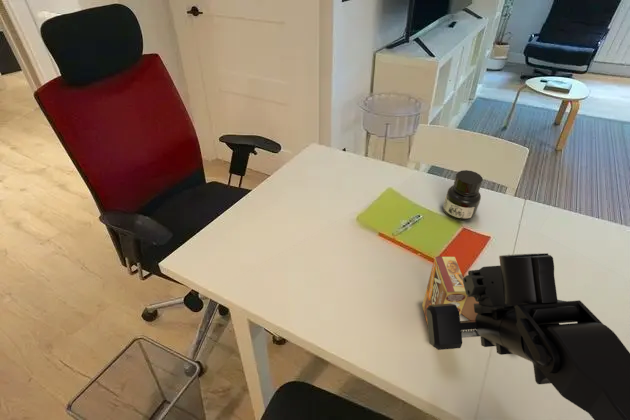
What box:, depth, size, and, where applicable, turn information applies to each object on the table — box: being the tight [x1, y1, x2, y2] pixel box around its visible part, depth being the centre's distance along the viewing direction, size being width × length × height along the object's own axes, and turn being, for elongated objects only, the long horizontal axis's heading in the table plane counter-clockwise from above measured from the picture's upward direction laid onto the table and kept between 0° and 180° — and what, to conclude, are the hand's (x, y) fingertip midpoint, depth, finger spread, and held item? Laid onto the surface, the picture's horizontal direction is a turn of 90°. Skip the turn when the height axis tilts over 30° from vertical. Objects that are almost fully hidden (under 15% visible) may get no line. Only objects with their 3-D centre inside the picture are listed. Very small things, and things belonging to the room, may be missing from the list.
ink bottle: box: [442, 169, 484, 222], centre depth 103 cm, size 10×9×12 cm
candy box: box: [421, 256, 467, 326], centre depth 74 cm, size 9×4×15 cm, turn 1°
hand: (465, 313), depth 64 cm, fingers open, 9 cm apart
